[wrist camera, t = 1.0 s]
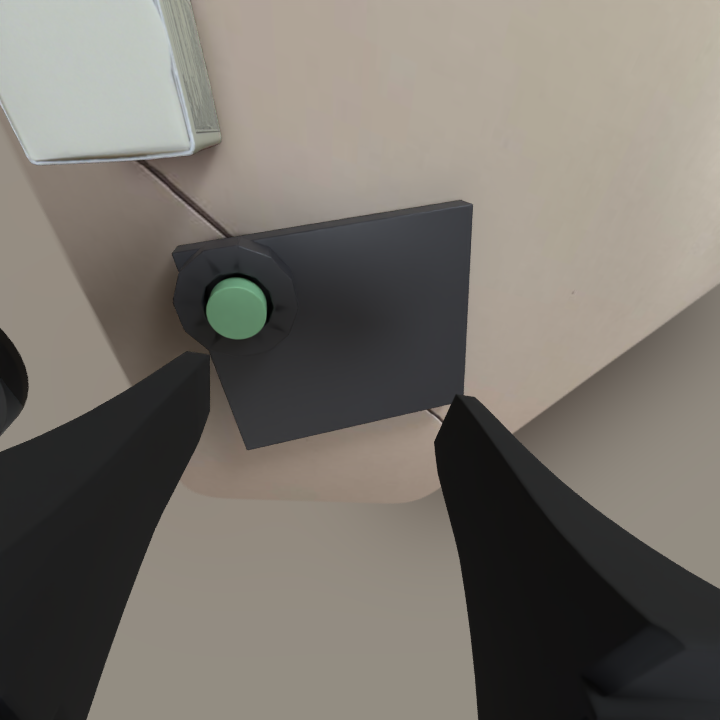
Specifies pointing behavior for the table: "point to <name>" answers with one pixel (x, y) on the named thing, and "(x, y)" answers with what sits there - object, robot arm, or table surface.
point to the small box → (104, 80)
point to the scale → (338, 319)
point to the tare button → (237, 308)
